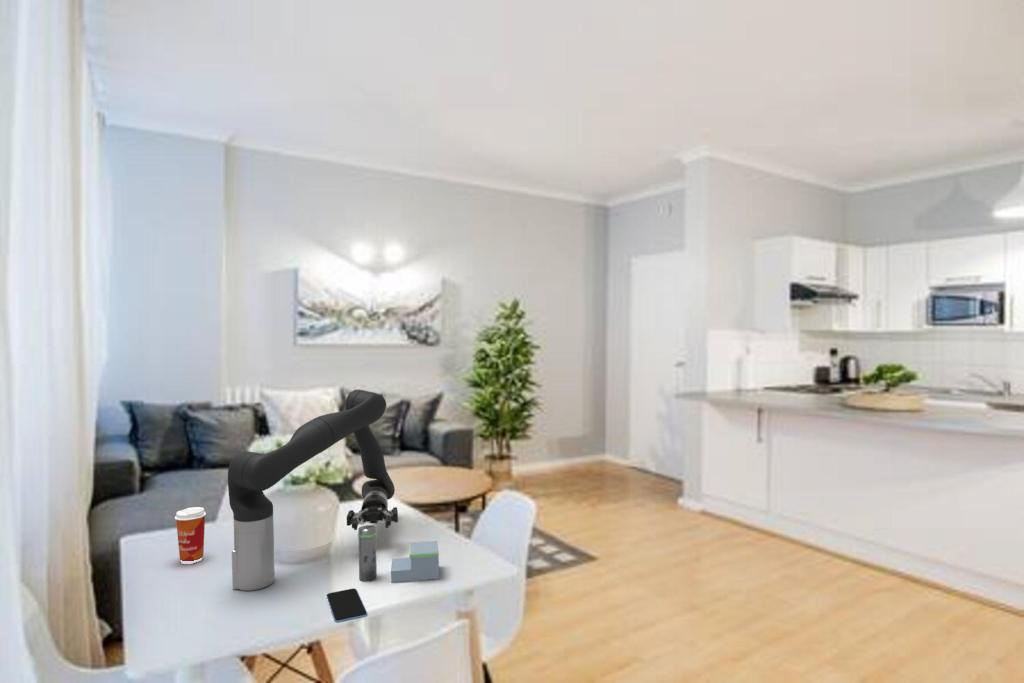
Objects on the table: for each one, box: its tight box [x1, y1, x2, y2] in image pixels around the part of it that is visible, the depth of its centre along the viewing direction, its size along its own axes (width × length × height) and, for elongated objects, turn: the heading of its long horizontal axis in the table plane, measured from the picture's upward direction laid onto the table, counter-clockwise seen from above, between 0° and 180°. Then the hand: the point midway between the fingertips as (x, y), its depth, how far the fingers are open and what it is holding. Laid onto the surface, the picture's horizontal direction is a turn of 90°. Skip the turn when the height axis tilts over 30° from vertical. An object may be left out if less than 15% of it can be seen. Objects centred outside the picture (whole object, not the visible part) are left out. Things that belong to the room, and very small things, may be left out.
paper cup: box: [174, 506, 207, 561], centre depth 165 cm, size 8×8×14 cm
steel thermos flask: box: [357, 524, 378, 583], centre depth 154 cm, size 5×5×13 cm
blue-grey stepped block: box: [390, 540, 440, 584], centre depth 155 cm, size 12×8×7 cm
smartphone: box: [326, 588, 368, 624], centre depth 139 cm, size 7×1×15 cm
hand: (371, 525), depth 165 cm, fingers open, 8 cm apart
